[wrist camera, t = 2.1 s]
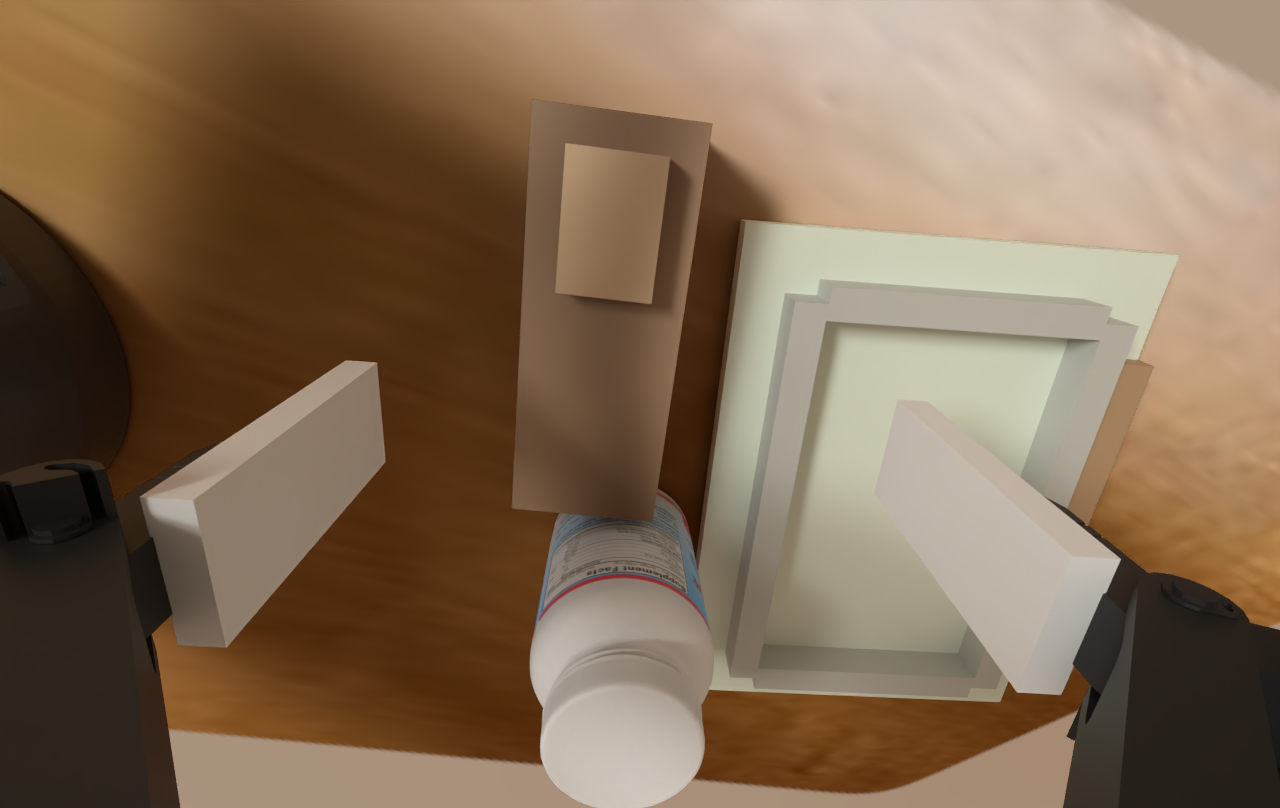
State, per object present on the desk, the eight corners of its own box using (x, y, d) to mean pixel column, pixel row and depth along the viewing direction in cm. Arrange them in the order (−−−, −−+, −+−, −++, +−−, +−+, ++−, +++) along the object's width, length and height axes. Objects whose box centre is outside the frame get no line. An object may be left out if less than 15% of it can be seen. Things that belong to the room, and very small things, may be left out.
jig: (680, 672, 30) (685, 714, 28) (740, 219, 22) (754, 225, 20) (988, 686, 31) (1017, 728, 29) (1156, 251, 23) (1216, 261, 21)
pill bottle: (662, 603, 28) (688, 849, 18) (537, 570, 28) (486, 807, 17) (709, 495, 27) (768, 697, 16) (576, 455, 26) (546, 642, 15)
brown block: (532, 445, 26) (506, 524, 20) (553, 112, 21) (525, 95, 15) (648, 457, 26) (653, 538, 21) (694, 131, 21) (717, 121, 16)
